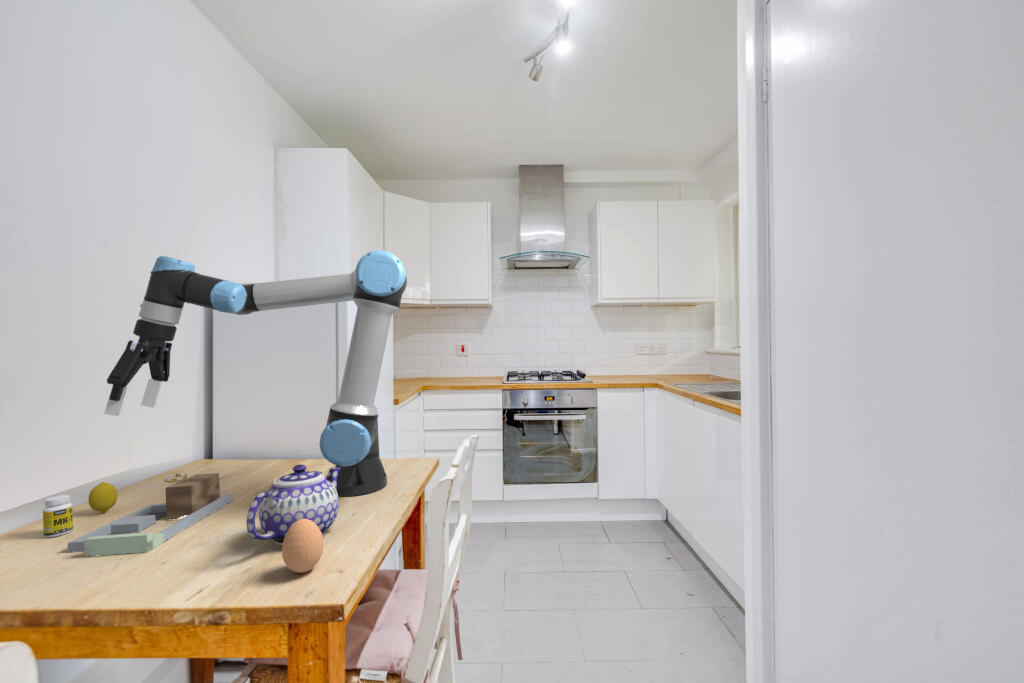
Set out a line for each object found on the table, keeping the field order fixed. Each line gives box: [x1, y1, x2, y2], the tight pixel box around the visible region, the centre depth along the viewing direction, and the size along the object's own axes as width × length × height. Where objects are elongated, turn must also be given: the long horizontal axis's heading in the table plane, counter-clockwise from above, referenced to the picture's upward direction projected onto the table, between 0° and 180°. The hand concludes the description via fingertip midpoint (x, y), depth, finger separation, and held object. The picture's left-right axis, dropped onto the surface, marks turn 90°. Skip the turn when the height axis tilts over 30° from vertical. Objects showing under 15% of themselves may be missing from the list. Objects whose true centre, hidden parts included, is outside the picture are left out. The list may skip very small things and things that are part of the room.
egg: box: [281, 519, 325, 574], centre depth 77 cm, size 7×7×9 cm
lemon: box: [88, 481, 118, 514], centre depth 113 cm, size 6×6×8 cm
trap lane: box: [67, 493, 234, 557], centre depth 103 cm, size 30×18×4 cm, turn 3°
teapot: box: [246, 464, 341, 546], centre depth 93 cm, size 25×15×15 cm, turn 160°
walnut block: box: [165, 472, 221, 521], centre depth 112 cm, size 11×6×8 cm, turn 3°
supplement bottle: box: [42, 494, 74, 539], centre depth 101 cm, size 5×5×8 cm
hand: (131, 410), depth 101 cm, fingers open, 13 cm apart
